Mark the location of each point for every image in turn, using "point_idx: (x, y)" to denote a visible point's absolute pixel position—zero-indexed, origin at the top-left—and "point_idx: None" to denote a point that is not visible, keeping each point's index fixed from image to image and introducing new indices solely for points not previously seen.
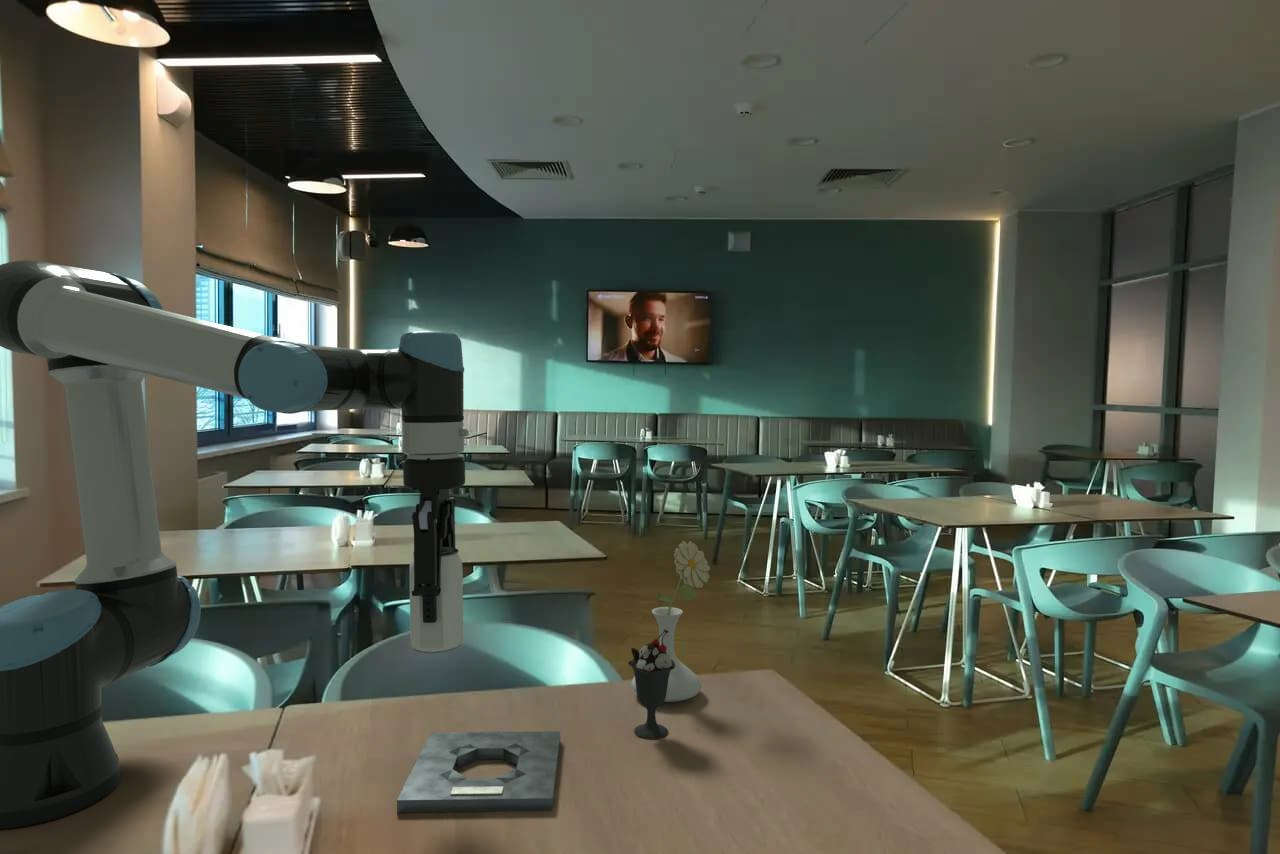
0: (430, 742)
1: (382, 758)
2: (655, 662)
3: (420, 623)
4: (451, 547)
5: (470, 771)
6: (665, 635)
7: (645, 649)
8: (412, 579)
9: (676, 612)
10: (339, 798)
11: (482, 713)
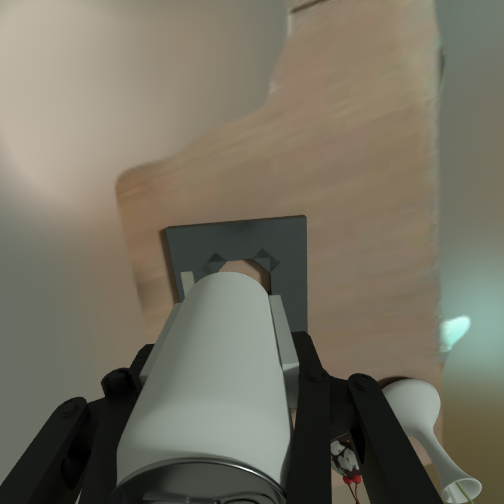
0: (282, 224)
1: (268, 175)
2: (332, 461)
3: (162, 330)
4: (373, 501)
5: (246, 267)
6: (433, 459)
7: (346, 466)
8: (150, 384)
9: (463, 494)
10: (185, 162)
11: (375, 248)
